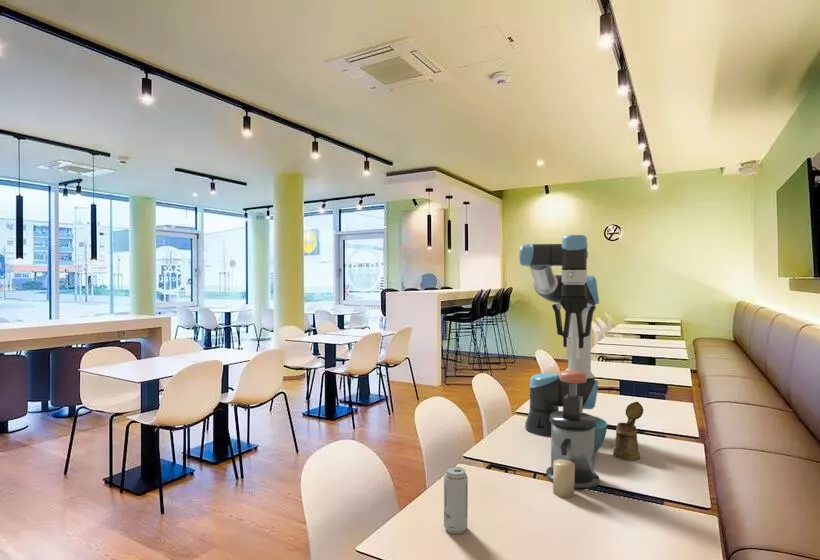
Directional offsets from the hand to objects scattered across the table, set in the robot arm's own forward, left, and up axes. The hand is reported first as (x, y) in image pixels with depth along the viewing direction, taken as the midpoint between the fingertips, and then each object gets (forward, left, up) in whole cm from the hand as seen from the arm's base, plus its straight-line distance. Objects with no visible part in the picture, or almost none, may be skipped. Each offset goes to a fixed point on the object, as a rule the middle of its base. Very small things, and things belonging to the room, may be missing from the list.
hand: (573, 357), depth 151 cm
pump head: (0, 0, -13) cm, 13 cm away
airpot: (+2, -2, -38) cm, 39 cm away
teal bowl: (-16, +16, -39) cm, 45 cm away
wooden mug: (-10, +33, -39) cm, 52 cm away
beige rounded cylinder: (+8, -9, -38) cm, 40 cm away
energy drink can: (+15, -48, -39) cm, 63 cm away
